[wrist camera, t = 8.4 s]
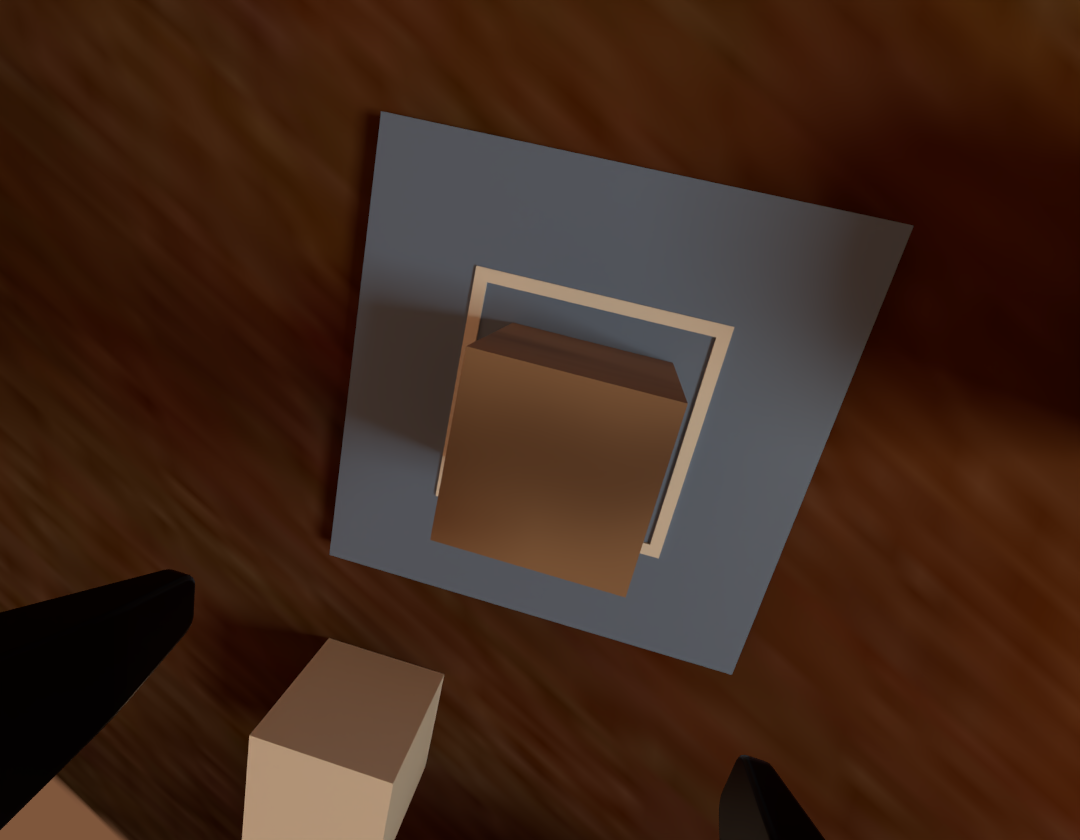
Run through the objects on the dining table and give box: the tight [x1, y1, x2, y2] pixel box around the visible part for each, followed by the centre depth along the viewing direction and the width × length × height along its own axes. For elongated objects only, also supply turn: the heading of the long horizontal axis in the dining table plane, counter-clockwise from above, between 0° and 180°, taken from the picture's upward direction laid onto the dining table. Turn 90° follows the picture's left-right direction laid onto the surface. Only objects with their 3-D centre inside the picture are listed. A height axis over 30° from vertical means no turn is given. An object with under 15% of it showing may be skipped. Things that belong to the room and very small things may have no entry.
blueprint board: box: [330, 111, 914, 675], centre depth 18 cm, size 15×15×1 cm
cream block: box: [242, 638, 444, 840], centre depth 21 cm, size 5×5×5 cm
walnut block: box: [430, 323, 688, 598], centre depth 15 cm, size 5×5×5 cm
